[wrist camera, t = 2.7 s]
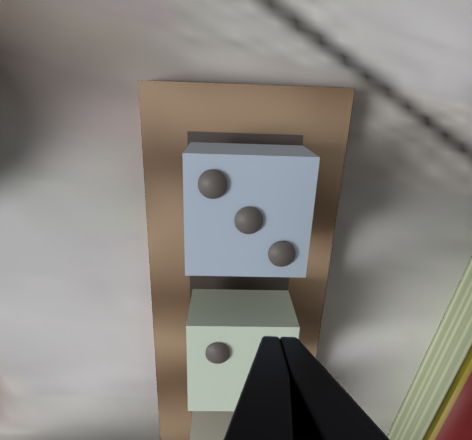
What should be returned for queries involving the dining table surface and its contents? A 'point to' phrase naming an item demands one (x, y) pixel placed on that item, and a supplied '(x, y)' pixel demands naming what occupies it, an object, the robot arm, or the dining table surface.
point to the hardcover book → (443, 378)
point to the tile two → (230, 340)
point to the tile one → (210, 424)
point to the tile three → (248, 209)
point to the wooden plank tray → (172, 208)
